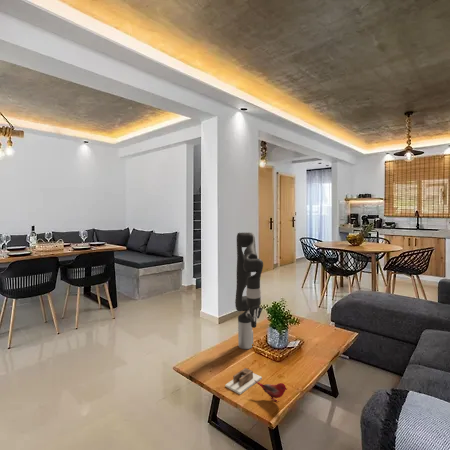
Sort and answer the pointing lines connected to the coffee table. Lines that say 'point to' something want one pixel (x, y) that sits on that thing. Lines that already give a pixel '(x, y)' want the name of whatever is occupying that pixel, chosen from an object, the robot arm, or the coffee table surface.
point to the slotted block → (243, 377)
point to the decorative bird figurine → (273, 390)
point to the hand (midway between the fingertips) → (253, 327)
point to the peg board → (241, 389)
